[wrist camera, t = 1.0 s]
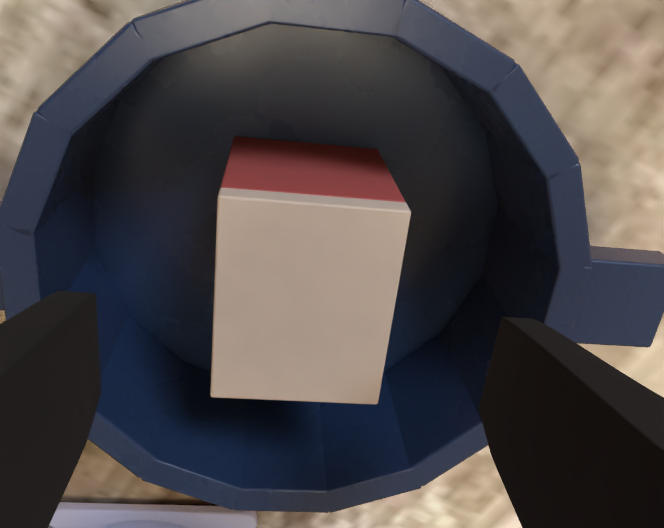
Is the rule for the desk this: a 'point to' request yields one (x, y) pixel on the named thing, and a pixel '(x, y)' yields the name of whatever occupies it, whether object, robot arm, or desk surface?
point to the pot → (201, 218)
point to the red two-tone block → (305, 272)
